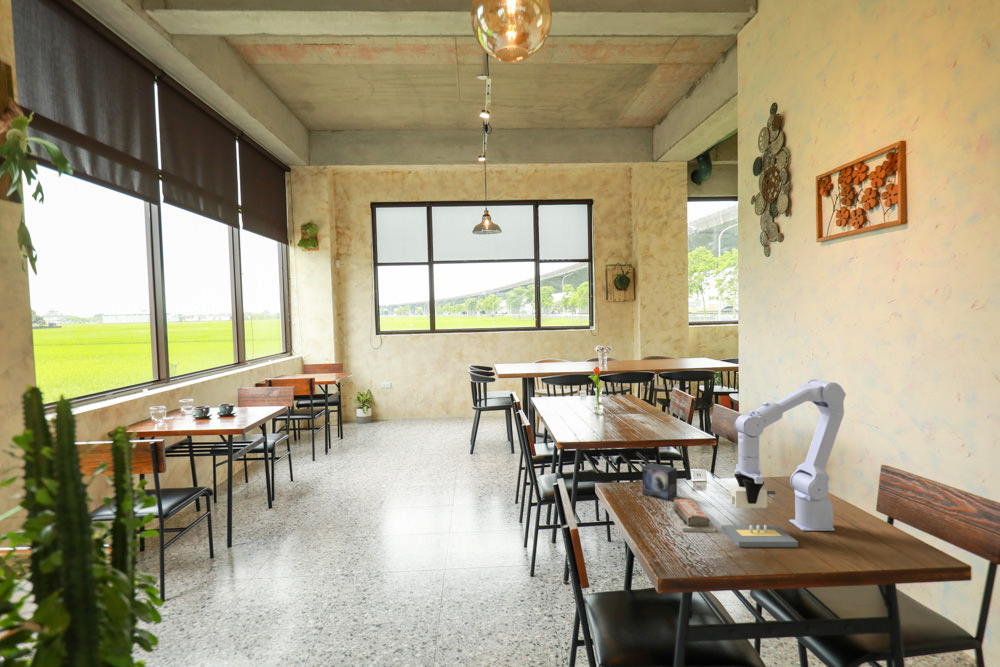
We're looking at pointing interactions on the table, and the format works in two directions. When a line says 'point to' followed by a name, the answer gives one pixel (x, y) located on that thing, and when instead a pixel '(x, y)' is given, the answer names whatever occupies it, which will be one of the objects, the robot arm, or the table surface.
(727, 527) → the board
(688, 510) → the packaged product
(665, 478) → the small box
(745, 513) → the table surface
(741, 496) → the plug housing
